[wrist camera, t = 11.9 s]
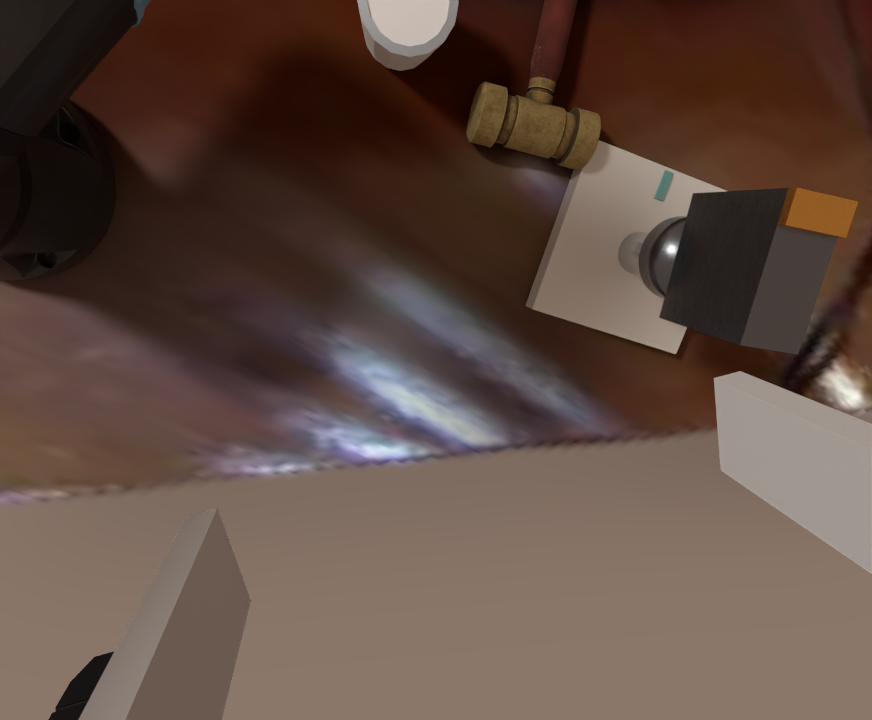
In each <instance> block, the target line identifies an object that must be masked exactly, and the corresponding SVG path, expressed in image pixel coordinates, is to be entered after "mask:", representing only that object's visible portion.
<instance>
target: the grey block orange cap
mask: <svg viewBox="0 0 872 720" xmlns="http://www.w3.org/2000/svg"><path fill="white" fill-rule="evenodd" d="M857 204H858V202H857V201H853V200H849V199H844V198H840V197H836V196H831V195H827V194H823V193H818V192H814V191H809V190H805V189H801V188H781V189H762V190H744V191H725V192H707V193H693V195H692V199H691V203H690V206H689V210H688V214H687V216H677V217H672V218H669V219H666V220H664V221H662V222H661V223H659V224H658V225H657V226H655V227H654V228H653V229H652V230H651V231H650V233H649V234H648V235H647V237H646V238H645V240H644V242H643V244H642V247H641V250H640V254H639V262H638V263H639V272H640V276H641V279H642V281H643V283H644V284H645V286H646V287H647V288H648V289H649V290H650V291H651V292H652V293H653V294H655V295H656V296H659V297H661V298H664V301H663V305H662V309H661V312H660V316H659V318H661V319H664V320H667V321H670V322H673V323H676V324H679V325H682V326H685V327H688V328H691V329H694V330H697V331H700V332H703V333H706V334H708V335H711V336H714V337H717V338H720V339H723V340H726V341H729V342H732V343H735V344H738V345H742V346H748V347H754V348H760V349H766V350H773V351H779V352H785V353H791V354H797V355H798V353H799V350H800V347H801V344H802V341H803V338H804V335H805V332H806V329H807V326H808V323H809V320H810V317H811V314H812V311H813V308H814V305H815V302H816V299H817V296H818V293H819V290H820V287H821V284H822V281H823V278H824V275H825V272H826V269H827V266H828V263H829V260H830V257H831V254H832V251H833V248H834V245H835V242H836V239H837V237H838V238H846V236H847V233H848V230H849V227H850V225H851V222H852V219H853V216H854V213H855V210H856V207H857Z"/></svg>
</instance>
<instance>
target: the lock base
mask: <svg viewBox="0 0 872 720" xmlns="http://www.w3.org/2000/svg"><path fill="white" fill-rule="evenodd" d="M725 191H726V190H723V189H720V188H718V187H715V186H713V185H710V184H708V183H705V182H703V181H700V180H698V179H695V178H693V177H690V176H688V175H685V174H683V173H680V172H678V171H675V170H673V169H670V168H668V167H665V166H663V165H660V164H658V163H655V162H653V161H650V160H647V159H645V158H642V157H640V156H637V155H635V154H632V153H630V152H627V151H625V150H622V149H620V148H617V147H615V146H612V145H610V144H607V143H605V142H602V141H600V140H599V141H598V144H597V147H596V150H595V152H594V154H593V156H592V158H591V159H590V161H589V162H588V164H587V165H586V166H585V167H584V168H582V169H581V170H573V173H572V175H571V178H570V181H569V184H568V187H567V189H566V192H565V195H564V198H563V201H562V204H561V206H560V209H559V212H558V215H557V218H556V220H555V223H554V226H553V229H552V232H551V235H550V237H549V240H548V243H547V246H546V249H545V251H544V254H543V257H542V260H541V263H540V266H539V268H538V271H537V274H536V277H535V280H534V282H533V285H532V288H531V291H530V294H529V297H528V299H527V302H526V305H525V306H527V307H529V308H531V309H533V310H536V311H539V312H542V313H546V314H549V315H552V316H555V317H558V318H562V319H565V320H568V321H571V322H574V323H578V324H581V325H584V326H587V327H590V328H594V329H597V330H600V331H603V332H606V333H609V334H613V335H616V336H619V337H622V338H625V339H629V340H632V341H635V342H638V343H641V344H645V345H648V346H651V347H654V348H657V349H661V350H664V351H667V352H670V353H673V354H676V353H677V351H678V348H679V346H680V343H681V341H682V339H683V336H684V334H685V331H686V329H687V327H685V326H682V325H679V324H676V323H673V322H670V321H667V320H664V319H661V318H659V316H660V312H661V309H662V305H663V301H664V298H661V297H659V296H656V295H655V294H653V293H652V292H651V291H650V290H649V289H648V288H647V287H646V286H645V284H644V283H643V281H642V279H641V276H640V272H639V263H638V262H639V254H640V250H641V247H642V244H643V242H644V240H645V238H646V237H647V235H648V234H649V233H650V231H651V230H652V229H653V228H654V227H655V226H657V225H658V224H659V223H661V222H662V221H664V220H666V219H669V218H672V217H677V216H687V214H688V210H689V206H690V203H691V199H692V195H693V193H707V192H725Z"/></svg>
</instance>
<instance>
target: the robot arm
mask: <svg viewBox="0 0 872 720" xmlns="http://www.w3.org/2000/svg"><path fill="white" fill-rule="evenodd" d="M150 1H151V0H0V280H6V281H16V280H27V279H33V278H38V277H43V276H48V275H51V274H55V273H58V272H61V271H63V270H66V269H68V268H70V267H72V266H74V265H75V264H77V263H78V262H80V261H81V260H83V259H84V258H85V257H86V256H87V255H89V254H90V253H91V252H92V251H93V250H94V249H95V247H96V246H97V245H98V244H99V242H100V241H101V239H102V238H103V236H104V234H105V233H106V231H107V228H108V226H109V224H110V221H111V218H112V214H113V210H114V203H115V181H114V175H113V170H112V166H111V162H110V159H109V156H108V154H107V151H106V149H105V147H104V145H103V143H102V141H101V139H100V137H99V135H98V134H97V132H96V131H95V129H94V128H93V126H92V125H91V124H90V122H89V121H88V120H87V119H86V117H85V116H84V115H83V114H82V113H81V112H80V111H79V110H78V109H77V108H76V107H75V106H74V105H73V104H72V103H71V102H70V101H68V99H69V98H70V97H71V96H72V95H73V94H74V92H75V91H76V90H77V89H78V88H79V87H80V85H81V84H82V83H83V82H84V81H85V80H86V79H87V77H88V76H89V75H90V74H91V73H92V72H93V70H94V69H95V68H96V67H97V66H98V65H99V63H100V62H101V61H102V60H103V59H104V58H105V57H106V55H107V54H108V53H109V52H110V51H111V50H112V48H113V47H114V46H115V45H116V44H117V43H118V41H119V40H120V39H121V38H122V37H123V36H124V35H125V33H126V32H127V31H128V30H129V29H130V28H133V27H136V26H137V25H138V24H139V23H140V22H141V18H142V17H143V16H144V8H145V7H146V6H147V4H148V3H149V2H150ZM714 386H715V400H716V414H717V427H718V441H719V455H720V468H721V471H723V472H724V473H726V474H727V475H729V476H730V477H731V478H733V479H734V480H736V481H737V482H739V483H740V484H742V485H743V486H745V487H746V488H747V489H749V490H750V491H752V492H753V493H755V494H756V495H757V496H759V497H760V498H762V499H763V500H765V501H766V502H768V503H769V504H771V505H772V506H773V507H775V508H776V509H778V510H779V511H781V512H782V513H784V514H785V515H786V516H788V517H789V518H791V519H792V520H794V521H795V522H797V523H798V524H800V525H801V526H802V527H804V528H805V529H807V530H808V531H810V532H811V533H813V534H814V535H815V536H817V537H819V538H820V539H821V540H823V541H824V542H826V543H827V544H829V545H830V546H831V547H833V548H834V549H836V550H837V551H839V552H840V553H842V554H843V555H845V556H846V557H848V558H849V559H851V560H852V561H853V562H855V563H856V564H858V565H859V566H861V567H862V568H863V569H865V570H867V571H868V572H869V573H871V574H872V424H870V423H867V422H865V421H863V420H860V419H858V418H855V417H853V416H850V415H848V414H845V413H843V412H840V411H838V410H835V409H833V408H830V407H828V406H825V405H823V404H821V403H818V402H816V401H813V400H811V399H808V398H806V397H803V396H801V395H798V394H796V393H793V392H791V391H788V390H786V389H783V388H781V387H778V386H776V385H773V384H771V383H769V382H766V381H764V380H761V379H759V378H756V377H754V376H751V375H749V374H746V373H744V372H741V371H739V372H735V373H732V374H728V375H724V376H720V377H716V378H714ZM250 602H251V600H250V597H249V594H248V591H247V589H246V586H245V583H244V580H243V577H242V575H241V572H240V569H239V566H238V564H237V561H236V558H235V555H234V553H233V550H232V547H231V544H230V542H229V539H228V536H227V533H226V530H225V528H224V525H223V522H222V519H221V517H220V514H219V511H218V508H215V509H211V510H208V511H203V512H200V513H196V514H192V515H188V516H185V518H184V521H183V522H182V524H181V526H180V528H179V530H178V532H177V534H176V535H175V537H174V539H173V541H172V543H171V545H170V547H169V549H168V551H167V553H166V554H165V557H164V559H163V560H162V562H161V564H160V566H159V568H158V570H157V572H156V573H155V575H154V577H153V579H152V581H151V583H150V585H149V587H148V589H147V591H146V592H145V594H144V596H143V598H142V600H141V602H140V604H139V606H138V608H137V609H136V611H135V614H134V615H133V617H132V619H131V621H130V623H129V625H128V627H127V629H126V630H125V633H124V634H123V636H122V638H121V640H120V642H119V644H118V646H117V648H116V649H115V651H114V652H110V653H107V654H103V655H100V656H96V657H94V658H93V659H92V660H91V661H90V662H89V663H88V664H87V665H86V666H85V667H84V669H83V670H82V671H81V672H80V673H79V674H78V675H77V676H76V677H75V678H74V679H73V680H72V681H71V682H70V684H69V685H68V687H67V689H66V691H65V692H64V694H63V696H62V697H61V699H60V701H59V703H58V705H57V706H56V712H54V713H52V714H51V716H50V718H49V720H222V716H223V712H224V708H225V704H226V700H227V696H228V692H229V688H230V683H231V680H232V675H233V671H234V667H235V663H236V659H237V655H238V651H239V647H240V643H241V639H242V635H243V630H244V626H245V622H246V618H247V614H248V610H249V606H250Z"/></svg>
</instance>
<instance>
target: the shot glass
mask: <svg viewBox="0 0 872 720" xmlns="http://www.w3.org/2000/svg"><path fill="white" fill-rule="evenodd" d="M357 1H358V6H359V11H360V16H361V21H362V26H363V31H364V36H365V41H366V45H367V47H368V49H369V50H370V52H371V54H372V55H373V57H374V58H375V59H376V60H377V61H378V62H380V63H381V64H382V65H384V66H385V67H386V68H390V69H394V70H398V71H403V70H408V69H413V68H415V67H416V66H418V65H419V64H420V63H422V62H423V61H425V60H426V59H427V58H428V57H429V56H430V55H431V54H432V53H433V52H434V51H435V50H436V49H437V48H438V47H439V46H440V45H442V44H443V43H444V41H445V40H446V38H447V36H448V35H449V33H450V31H451V30H452V28H453V26H454V25H455V20H456V15H457V9H458V0H357Z"/></svg>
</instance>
